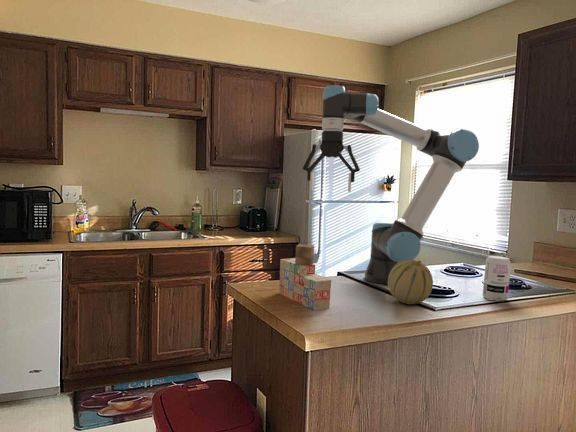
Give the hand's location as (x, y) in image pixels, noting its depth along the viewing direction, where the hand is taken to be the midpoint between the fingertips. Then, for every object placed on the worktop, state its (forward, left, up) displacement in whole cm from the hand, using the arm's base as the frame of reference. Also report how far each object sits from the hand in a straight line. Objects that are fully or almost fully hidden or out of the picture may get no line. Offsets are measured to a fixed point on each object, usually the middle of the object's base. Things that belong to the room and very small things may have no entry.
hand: (330, 190), depth 172 cm
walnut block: (+4, +20, -23) cm, 31 cm away
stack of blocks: (+4, +20, -36) cm, 41 cm away
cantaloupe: (-30, +8, -36) cm, 47 cm away
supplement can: (-60, -12, -36) cm, 71 cm away
